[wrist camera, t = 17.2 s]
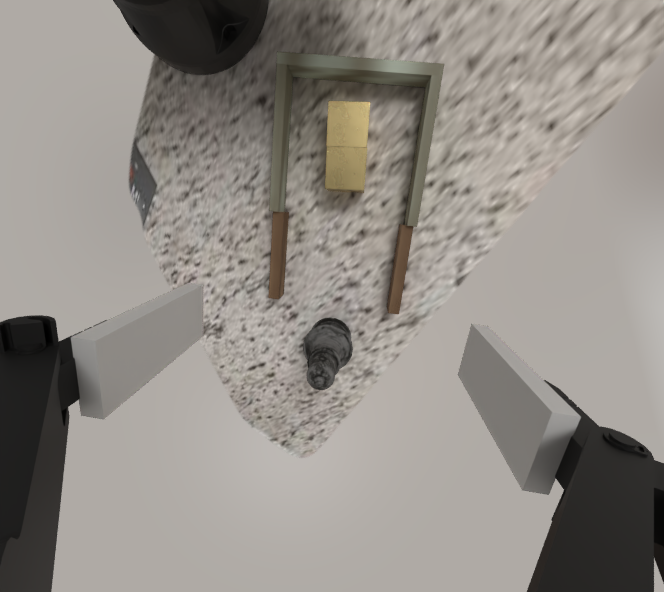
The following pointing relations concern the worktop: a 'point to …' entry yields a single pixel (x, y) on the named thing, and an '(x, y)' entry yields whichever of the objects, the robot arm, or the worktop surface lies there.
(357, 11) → the worktop surface
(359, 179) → the tan wooden cube
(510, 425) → the robot arm
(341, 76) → the frame
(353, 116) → the chip
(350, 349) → the salt shaker
